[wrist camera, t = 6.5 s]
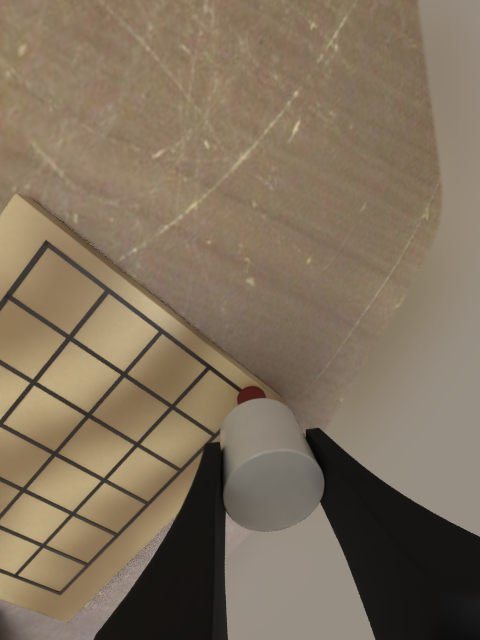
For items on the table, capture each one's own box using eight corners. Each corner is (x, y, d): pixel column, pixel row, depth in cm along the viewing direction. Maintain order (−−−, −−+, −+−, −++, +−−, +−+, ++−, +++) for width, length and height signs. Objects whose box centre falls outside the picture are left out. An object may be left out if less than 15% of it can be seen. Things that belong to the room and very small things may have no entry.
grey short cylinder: (313, 424, 13) (346, 482, 10) (261, 476, 14) (277, 546, 11) (255, 382, 12) (272, 431, 9) (203, 440, 13) (200, 505, 10)
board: (283, 397, 17) (287, 407, 16) (73, 606, 20) (66, 625, 19) (29, 196, 13) (13, 192, 12) (-191, 506, 16) (-219, 524, 15)
